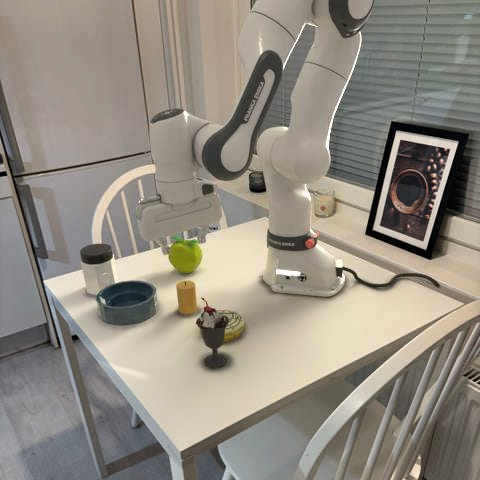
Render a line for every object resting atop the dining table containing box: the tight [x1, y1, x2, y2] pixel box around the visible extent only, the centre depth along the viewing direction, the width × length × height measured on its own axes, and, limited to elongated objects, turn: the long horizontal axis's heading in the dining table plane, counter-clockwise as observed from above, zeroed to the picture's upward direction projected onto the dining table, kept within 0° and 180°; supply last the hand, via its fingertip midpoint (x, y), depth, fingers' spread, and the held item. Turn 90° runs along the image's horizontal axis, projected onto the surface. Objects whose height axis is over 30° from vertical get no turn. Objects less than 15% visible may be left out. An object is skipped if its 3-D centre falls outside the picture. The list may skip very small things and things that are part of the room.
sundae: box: [195, 297, 229, 369], centre depth 100 cm, size 7×7×15 cm
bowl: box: [95, 280, 159, 326], centre depth 122 cm, size 15×15×5 cm
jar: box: [79, 243, 120, 296], centre depth 131 cm, size 9×8×12 cm
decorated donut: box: [198, 308, 246, 342], centre depth 113 cm, size 10×11×4 cm
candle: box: [175, 280, 198, 315], centre depth 121 cm, size 5×5×8 cm
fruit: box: [167, 235, 203, 274], centre depth 140 cm, size 9×9×10 cm
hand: (184, 248), depth 115 cm, fingers open, 8 cm apart
